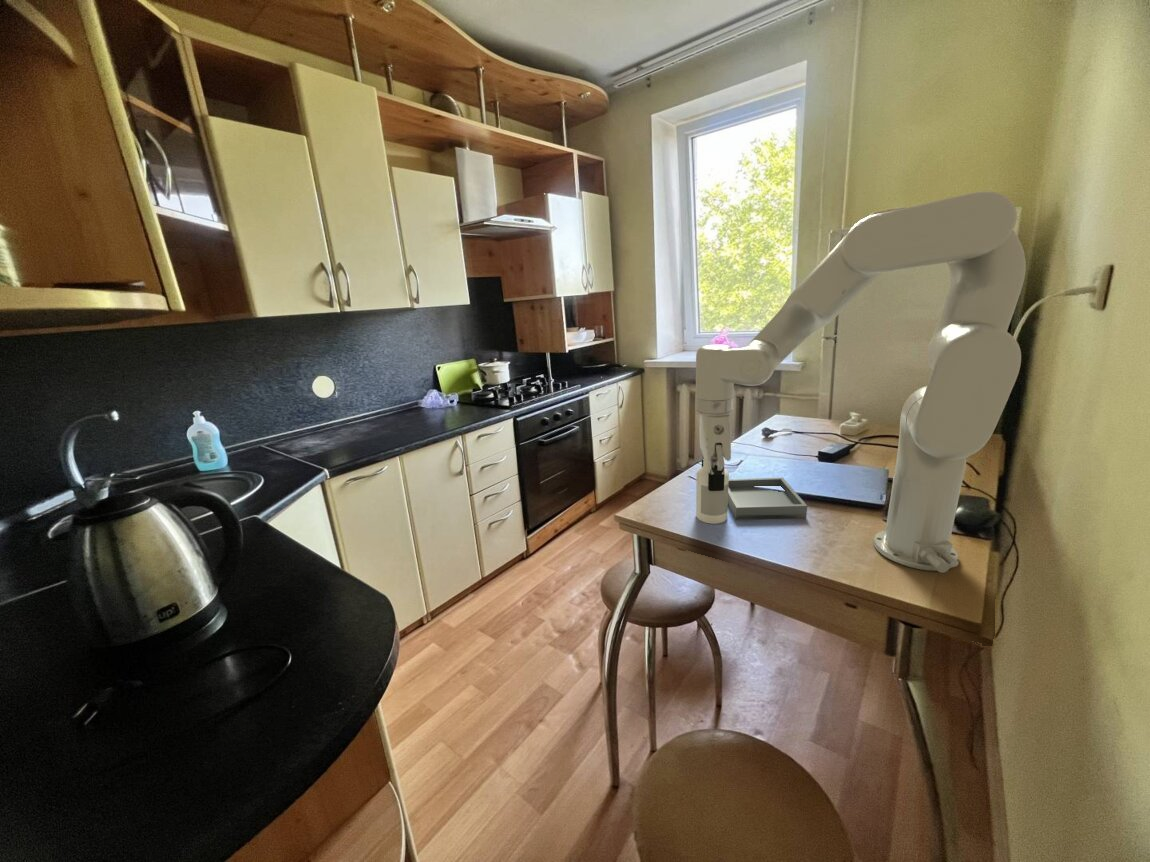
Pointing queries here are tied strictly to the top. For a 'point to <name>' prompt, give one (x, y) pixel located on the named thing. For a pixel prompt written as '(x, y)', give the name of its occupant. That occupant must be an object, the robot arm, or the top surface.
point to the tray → (764, 500)
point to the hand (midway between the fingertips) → (712, 482)
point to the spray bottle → (711, 497)
